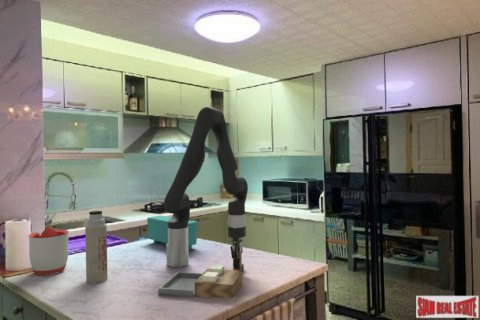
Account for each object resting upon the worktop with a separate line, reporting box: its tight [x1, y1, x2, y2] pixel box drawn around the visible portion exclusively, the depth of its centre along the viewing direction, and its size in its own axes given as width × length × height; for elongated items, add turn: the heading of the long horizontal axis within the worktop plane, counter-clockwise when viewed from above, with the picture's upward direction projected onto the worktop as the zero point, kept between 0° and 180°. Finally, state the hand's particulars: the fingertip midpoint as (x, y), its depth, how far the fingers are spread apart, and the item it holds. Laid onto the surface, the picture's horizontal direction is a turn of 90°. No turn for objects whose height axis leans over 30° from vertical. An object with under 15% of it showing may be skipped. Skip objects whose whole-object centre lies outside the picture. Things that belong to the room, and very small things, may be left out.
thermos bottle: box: [84, 210, 109, 284], centre depth 141 cm, size 8×8×28 cm
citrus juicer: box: [28, 226, 69, 277], centre depth 153 cm, size 16×17×20 cm
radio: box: [146, 215, 199, 251], centre depth 194 cm, size 34×10×15 cm, turn 49°
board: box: [194, 267, 243, 300], centre depth 129 cm, size 14×16×5 cm
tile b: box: [210, 264, 225, 275], centre depth 133 cm, size 4×4×2 cm
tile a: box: [203, 272, 219, 282], centre depth 125 cm, size 4×4×2 cm
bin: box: [157, 271, 204, 299], centre depth 132 cm, size 13×18×2 cm
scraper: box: [232, 252, 245, 273], centre depth 145 cm, size 3×14×10 cm, turn 168°
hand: (237, 266), depth 145 cm, fingers closed on scraper, 3 cm apart
